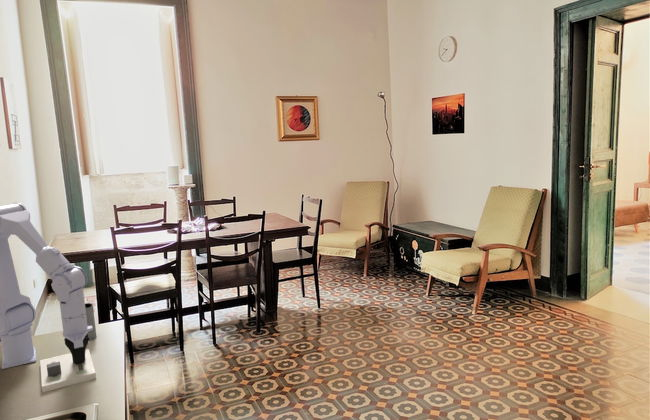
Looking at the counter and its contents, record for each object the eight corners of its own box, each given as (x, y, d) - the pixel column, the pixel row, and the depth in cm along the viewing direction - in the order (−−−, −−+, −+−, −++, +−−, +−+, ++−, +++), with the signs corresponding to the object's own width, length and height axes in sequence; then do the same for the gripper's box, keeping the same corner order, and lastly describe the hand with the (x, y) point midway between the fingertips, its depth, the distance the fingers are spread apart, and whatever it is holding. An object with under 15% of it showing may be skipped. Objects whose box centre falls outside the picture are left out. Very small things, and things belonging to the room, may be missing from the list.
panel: (40, 365, 132) (40, 359, 132) (89, 353, 138) (88, 348, 138) (42, 392, 119) (41, 386, 118) (96, 378, 125) (95, 372, 124)
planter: (90, 341, 146) (86, 309, 144) (76, 340, 147) (72, 308, 145) (99, 334, 150) (96, 303, 149) (86, 333, 151) (83, 302, 149)
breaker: (47, 373, 124) (46, 364, 124) (60, 370, 126) (59, 361, 125) (48, 376, 122) (46, 367, 122) (61, 373, 124) (60, 364, 123)
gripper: (93, 320, 122) (99, 369, 124) (87, 302, 134) (92, 348, 137) (62, 326, 118) (68, 377, 121) (58, 308, 131) (64, 354, 133)
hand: (79, 362), depth 128 cm, fingers closed
